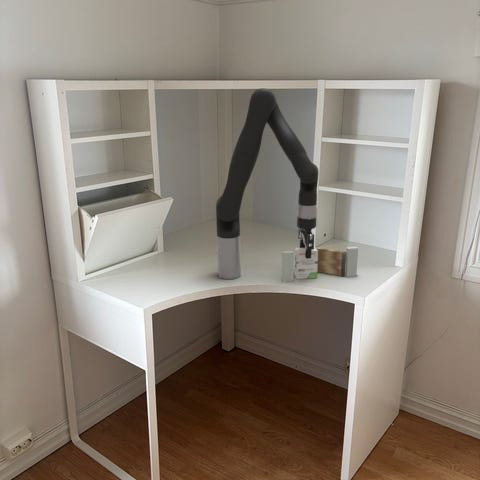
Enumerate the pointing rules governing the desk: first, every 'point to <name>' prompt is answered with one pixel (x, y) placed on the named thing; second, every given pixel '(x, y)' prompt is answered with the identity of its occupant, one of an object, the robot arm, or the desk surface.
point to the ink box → (305, 264)
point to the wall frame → (289, 263)
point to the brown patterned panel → (331, 261)
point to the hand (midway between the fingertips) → (305, 254)
